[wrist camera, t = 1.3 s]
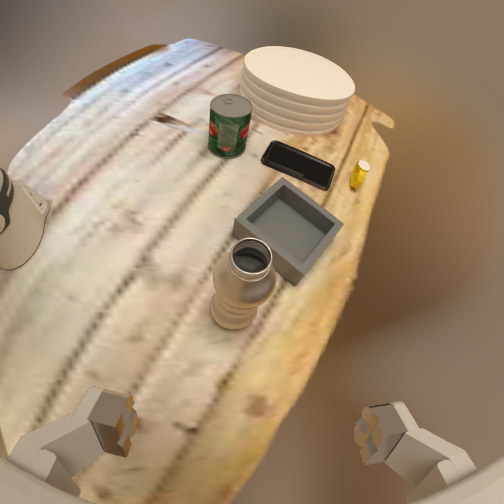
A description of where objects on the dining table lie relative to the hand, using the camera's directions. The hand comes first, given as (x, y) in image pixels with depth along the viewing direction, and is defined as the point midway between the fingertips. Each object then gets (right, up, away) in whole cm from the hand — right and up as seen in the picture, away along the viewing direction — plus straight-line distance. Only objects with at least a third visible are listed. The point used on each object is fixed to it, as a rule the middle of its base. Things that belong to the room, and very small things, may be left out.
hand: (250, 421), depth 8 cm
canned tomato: (-5, +28, +49) cm, 57 cm away
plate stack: (+10, +45, +60) cm, 76 cm away
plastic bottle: (-3, -3, +34) cm, 35 cm away
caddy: (+6, +8, +41) cm, 42 cm away
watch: (+22, +21, +50) cm, 58 cm away
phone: (+10, +24, +50) cm, 56 cm away
